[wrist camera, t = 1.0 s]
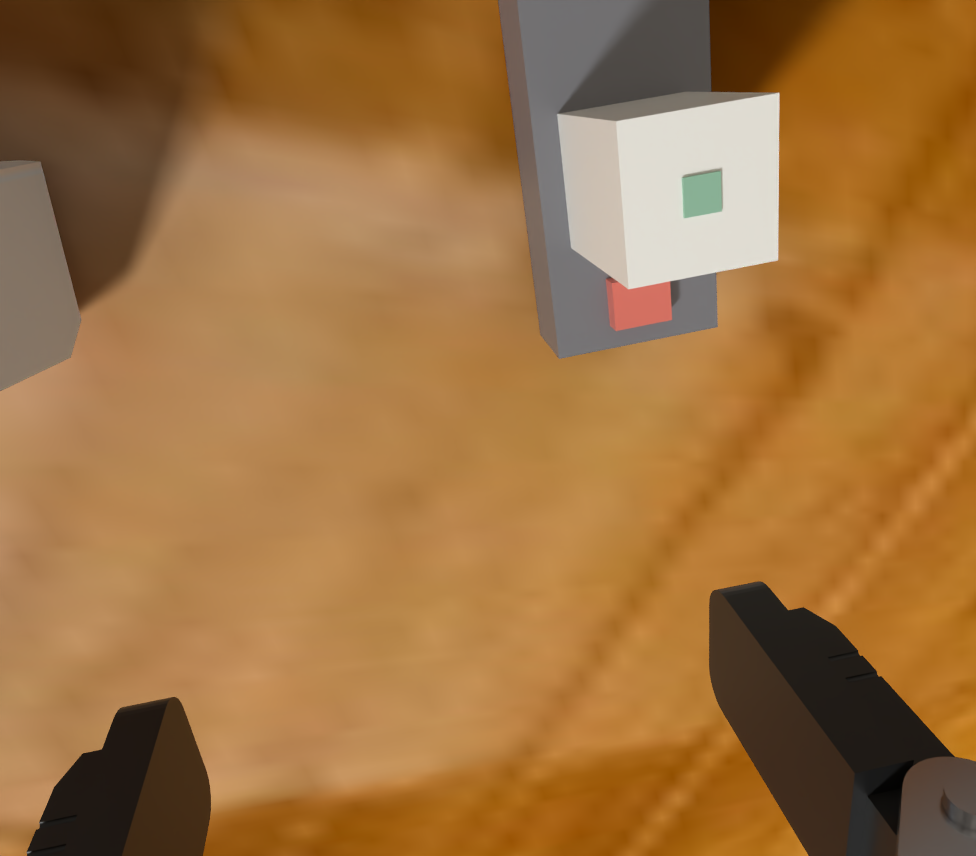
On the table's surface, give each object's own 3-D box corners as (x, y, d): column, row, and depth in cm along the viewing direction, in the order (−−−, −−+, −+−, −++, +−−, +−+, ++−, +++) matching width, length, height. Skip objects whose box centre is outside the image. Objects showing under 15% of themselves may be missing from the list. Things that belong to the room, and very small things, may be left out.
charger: (545, 112, 30) (617, 121, 22) (668, 91, 31) (781, 92, 23) (559, 240, 33) (629, 289, 24) (674, 218, 33) (779, 260, 25)
